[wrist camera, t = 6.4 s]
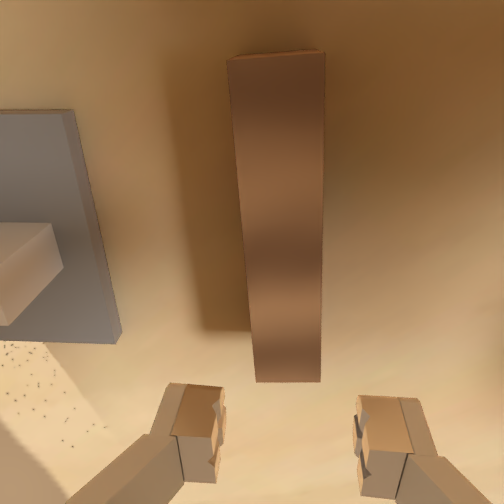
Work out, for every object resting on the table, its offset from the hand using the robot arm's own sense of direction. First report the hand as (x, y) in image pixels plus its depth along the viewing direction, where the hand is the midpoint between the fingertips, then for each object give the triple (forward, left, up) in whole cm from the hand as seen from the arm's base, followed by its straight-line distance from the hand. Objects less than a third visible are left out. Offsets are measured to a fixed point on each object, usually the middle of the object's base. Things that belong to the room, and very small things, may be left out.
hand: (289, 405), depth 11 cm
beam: (0, 0, -13) cm, 13 cm away
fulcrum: (+17, +1, -12) cm, 21 cm away
